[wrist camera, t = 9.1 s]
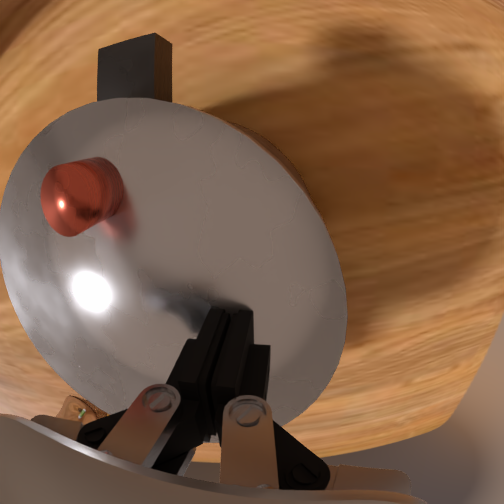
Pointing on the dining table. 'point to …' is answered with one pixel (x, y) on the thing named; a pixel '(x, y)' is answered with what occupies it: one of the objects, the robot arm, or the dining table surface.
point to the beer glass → (76, 411)
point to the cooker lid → (166, 251)
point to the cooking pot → (152, 79)
